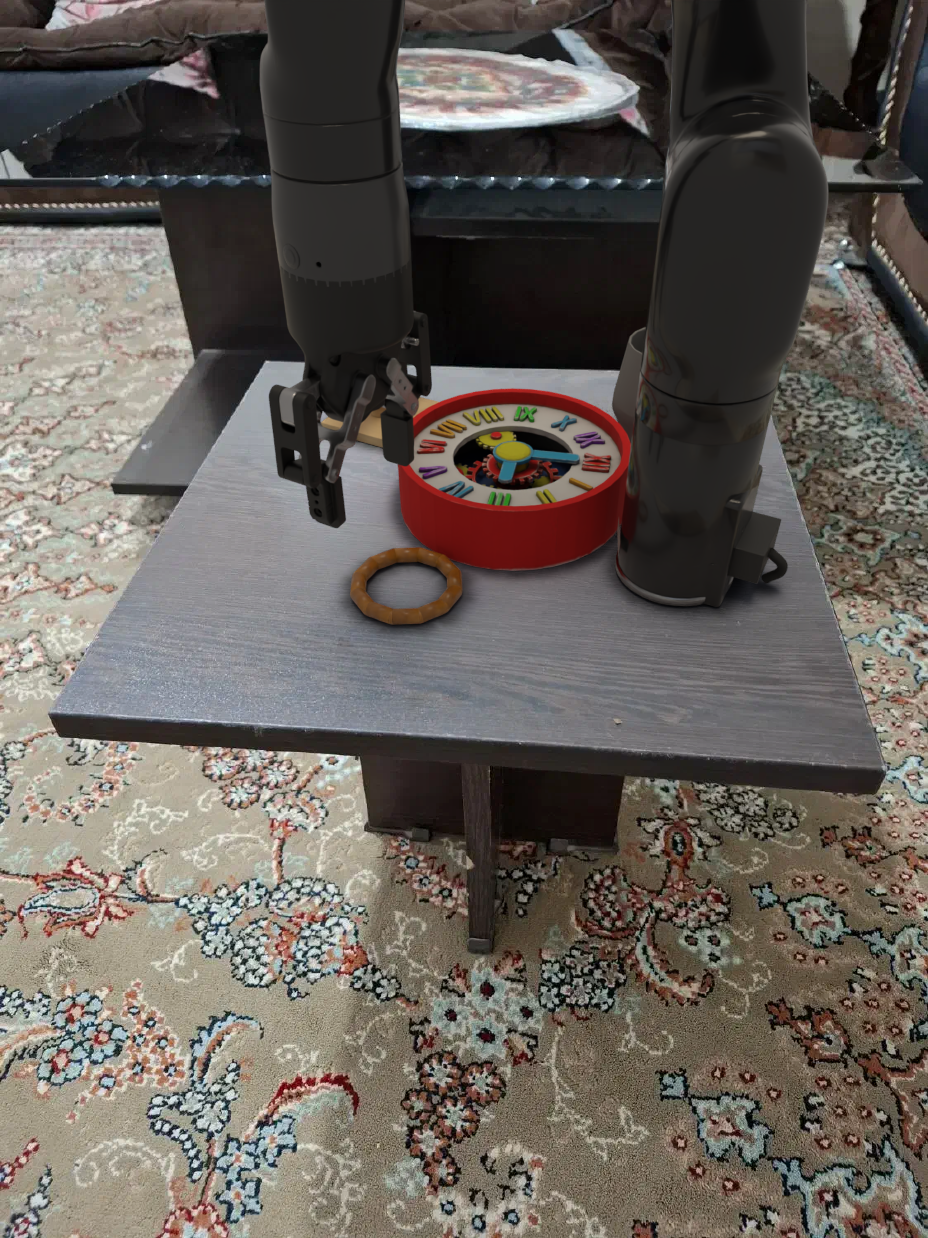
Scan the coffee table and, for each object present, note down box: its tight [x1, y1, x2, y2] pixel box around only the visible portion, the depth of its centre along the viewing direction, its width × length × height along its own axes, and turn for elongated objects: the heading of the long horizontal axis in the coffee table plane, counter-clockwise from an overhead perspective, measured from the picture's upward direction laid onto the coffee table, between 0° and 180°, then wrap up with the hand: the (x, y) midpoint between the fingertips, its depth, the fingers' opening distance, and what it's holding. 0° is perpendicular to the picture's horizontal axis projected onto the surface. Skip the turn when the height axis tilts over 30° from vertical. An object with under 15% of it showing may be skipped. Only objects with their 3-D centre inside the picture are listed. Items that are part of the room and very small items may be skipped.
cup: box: [611, 326, 646, 443], centre depth 84 cm, size 10×9×10 cm
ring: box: [349, 546, 463, 625], centre depth 71 cm, size 9×9×1 cm
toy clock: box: [397, 387, 631, 572], centre depth 78 cm, size 20×6×20 cm
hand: (366, 490), depth 61 cm, fingers open, 8 cm apart
